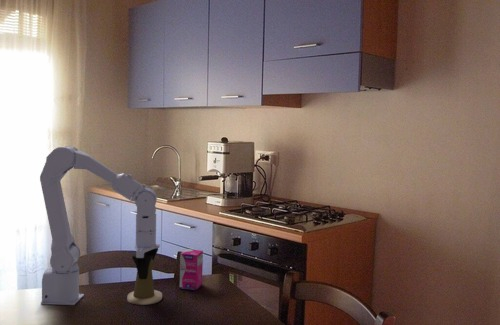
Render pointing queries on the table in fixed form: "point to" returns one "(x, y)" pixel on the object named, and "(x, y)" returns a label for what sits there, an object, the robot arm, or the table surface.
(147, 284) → the cork
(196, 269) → the supplement box
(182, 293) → the table surface
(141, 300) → the coaster
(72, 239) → the robot arm
